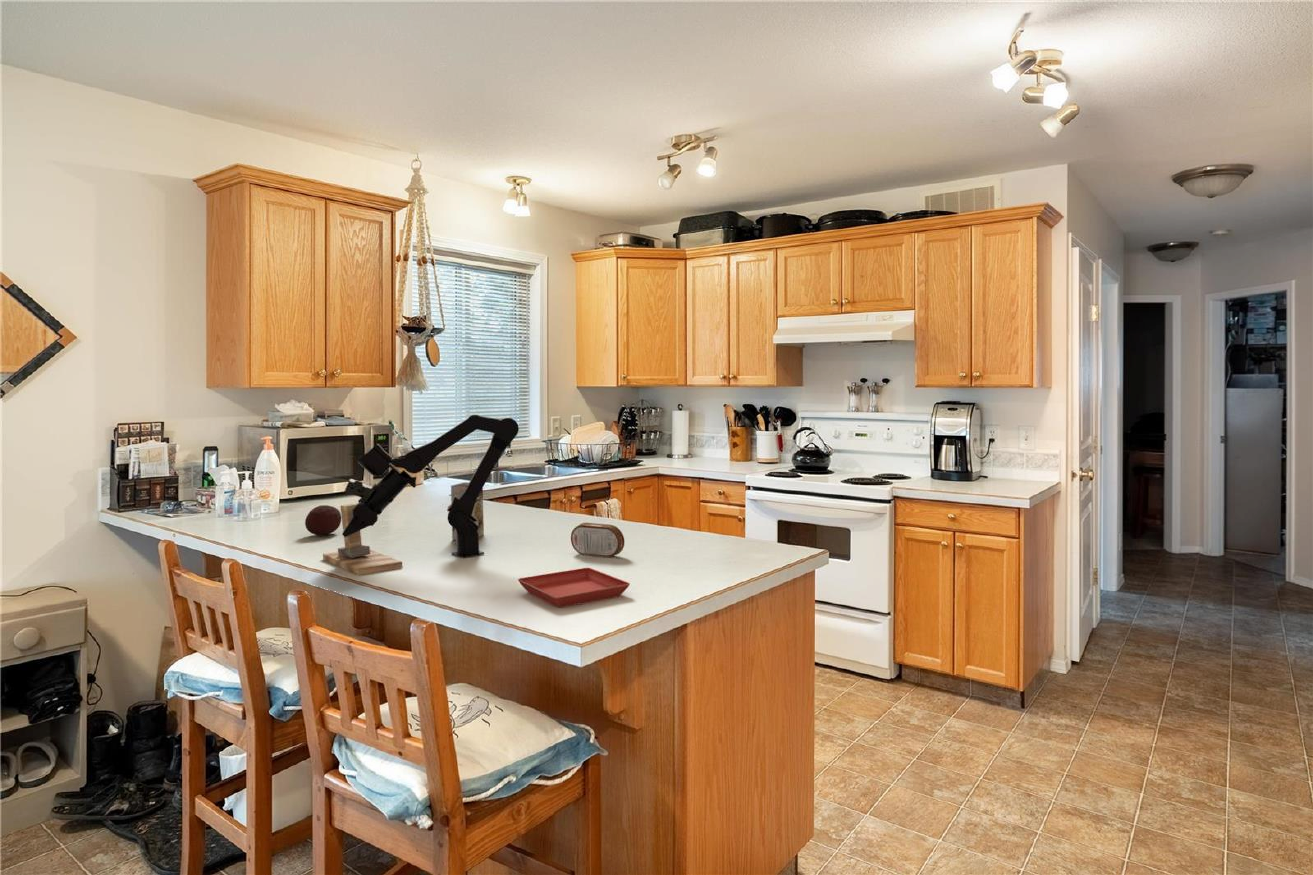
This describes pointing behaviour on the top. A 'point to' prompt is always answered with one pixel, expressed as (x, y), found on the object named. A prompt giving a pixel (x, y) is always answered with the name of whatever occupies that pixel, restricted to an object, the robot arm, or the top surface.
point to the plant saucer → (574, 586)
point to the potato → (323, 520)
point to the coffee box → (477, 510)
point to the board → (364, 562)
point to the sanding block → (351, 536)
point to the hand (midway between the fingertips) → (344, 534)
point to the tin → (597, 539)
